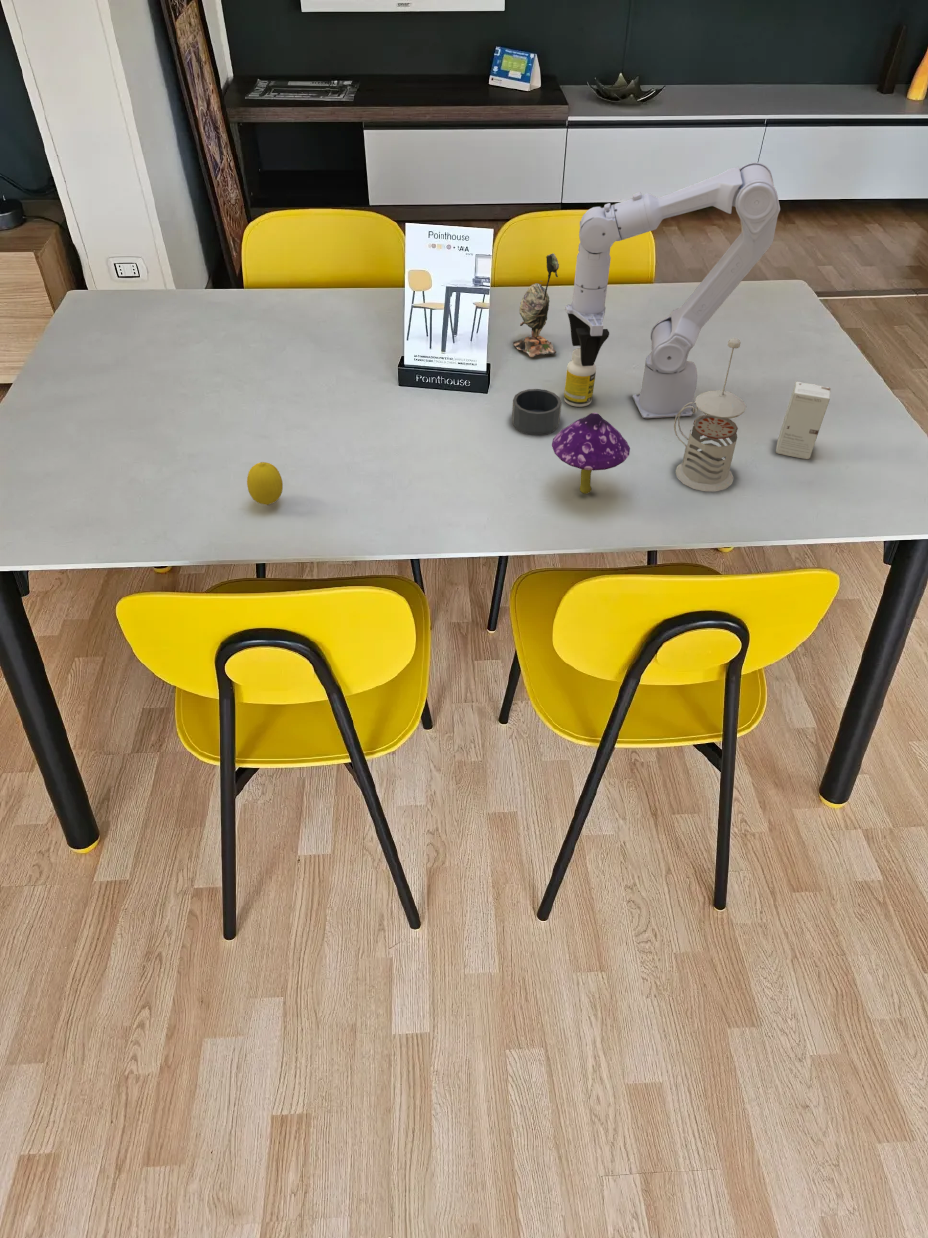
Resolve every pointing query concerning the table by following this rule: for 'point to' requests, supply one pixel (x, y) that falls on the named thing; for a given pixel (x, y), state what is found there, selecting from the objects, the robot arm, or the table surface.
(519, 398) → the metal bowl
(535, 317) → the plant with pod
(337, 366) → the table surface
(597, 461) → the decorative mushroom
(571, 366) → the supplement bottle
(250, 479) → the lemon
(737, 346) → the french press
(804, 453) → the cosmetic box
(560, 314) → the table surface
